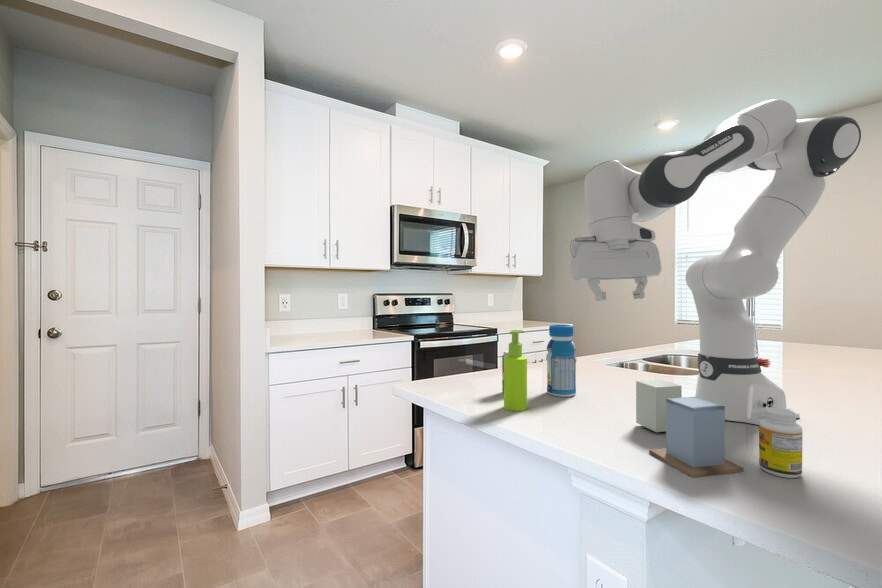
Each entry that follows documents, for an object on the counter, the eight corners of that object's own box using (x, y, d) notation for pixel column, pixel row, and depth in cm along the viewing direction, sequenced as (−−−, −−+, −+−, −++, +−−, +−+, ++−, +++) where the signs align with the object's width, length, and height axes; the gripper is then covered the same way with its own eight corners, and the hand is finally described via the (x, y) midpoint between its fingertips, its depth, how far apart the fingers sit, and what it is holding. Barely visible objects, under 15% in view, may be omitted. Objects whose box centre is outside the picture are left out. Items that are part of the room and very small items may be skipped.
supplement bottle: (759, 461, 72) (759, 404, 72) (801, 470, 69) (801, 410, 68) (757, 473, 68) (758, 411, 68) (802, 483, 64) (803, 418, 64)
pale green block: (660, 423, 93) (660, 379, 93) (681, 432, 87) (681, 385, 87) (636, 425, 92) (636, 380, 92) (656, 435, 86) (655, 387, 85)
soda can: (519, 395, 118) (519, 354, 117) (501, 395, 119) (501, 353, 118) (519, 391, 122) (519, 351, 122) (502, 390, 123) (502, 351, 123)
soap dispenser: (531, 405, 107) (531, 329, 107) (522, 412, 101) (521, 332, 101) (510, 402, 110) (510, 328, 110) (500, 409, 105) (499, 331, 104)
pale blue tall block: (695, 450, 76) (695, 396, 76) (724, 464, 70) (724, 406, 70) (666, 453, 75) (666, 398, 75) (693, 467, 69) (693, 408, 68)
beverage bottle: (561, 399, 114) (561, 327, 113) (540, 392, 121) (540, 325, 121) (582, 395, 118) (582, 325, 118) (560, 388, 125) (560, 323, 125)
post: (695, 448, 78) (695, 403, 78) (743, 471, 68) (743, 420, 68) (649, 453, 76) (649, 407, 76) (692, 477, 66) (692, 424, 66)
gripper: (577, 232, 82) (586, 300, 81) (661, 231, 88) (671, 295, 86) (561, 240, 89) (568, 304, 87) (640, 239, 94) (649, 299, 92)
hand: (620, 299), depth 86 cm, fingers open, 8 cm apart
